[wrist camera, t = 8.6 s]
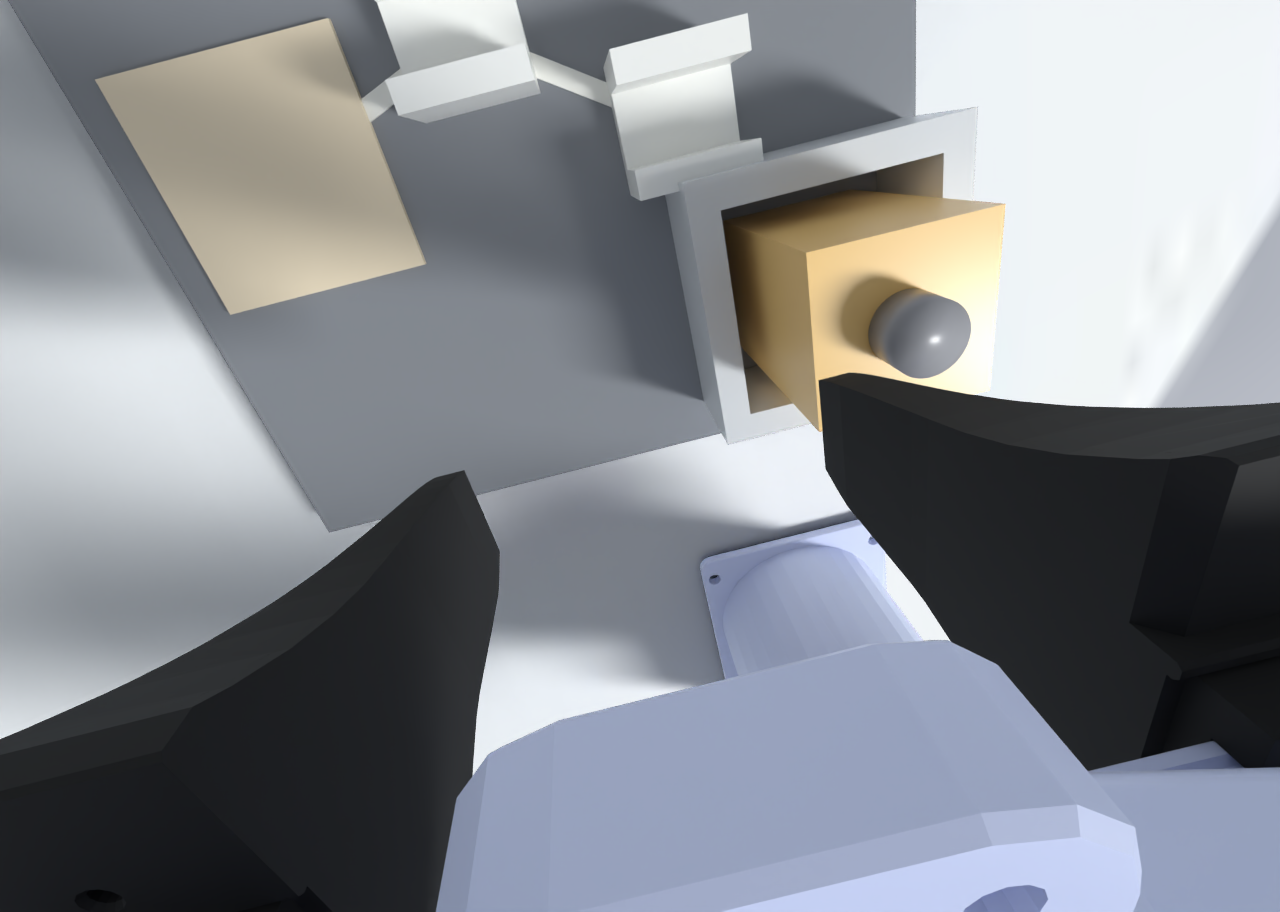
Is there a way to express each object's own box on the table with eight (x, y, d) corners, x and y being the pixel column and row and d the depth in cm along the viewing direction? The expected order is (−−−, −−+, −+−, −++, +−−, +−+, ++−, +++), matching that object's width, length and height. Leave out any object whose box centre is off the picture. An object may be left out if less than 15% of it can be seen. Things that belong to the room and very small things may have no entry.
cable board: (900, 374, 21) (975, 423, 17) (338, 517, 22) (286, 597, 18) (895, -226, 14) (1023, -381, 10) (38, 2, 14) (-169, -60, 10)
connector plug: (854, 317, 19) (1020, 407, 12) (739, 345, 19) (837, 451, 12) (850, 189, 17) (1043, 207, 10) (722, 220, 17) (826, 260, 10)
